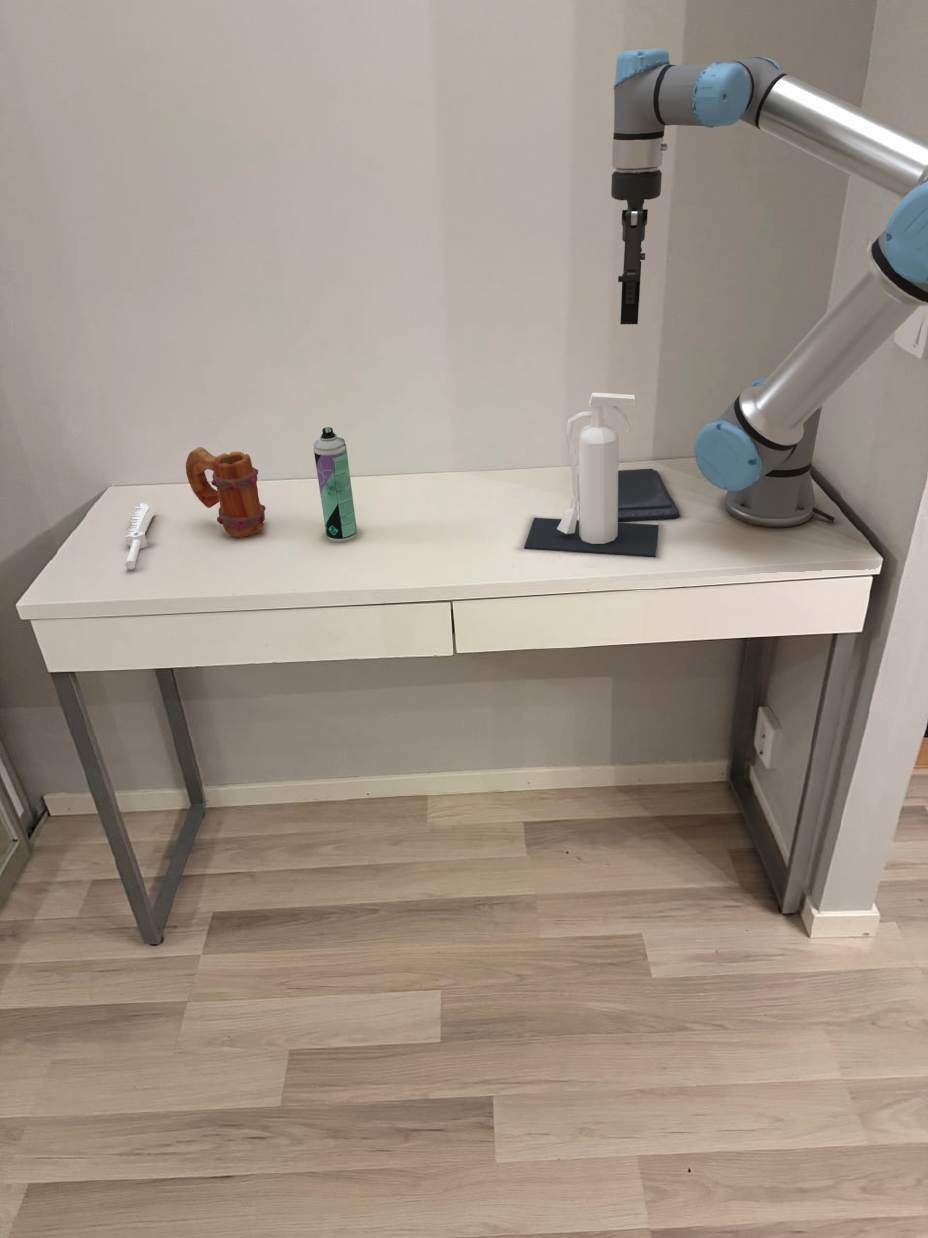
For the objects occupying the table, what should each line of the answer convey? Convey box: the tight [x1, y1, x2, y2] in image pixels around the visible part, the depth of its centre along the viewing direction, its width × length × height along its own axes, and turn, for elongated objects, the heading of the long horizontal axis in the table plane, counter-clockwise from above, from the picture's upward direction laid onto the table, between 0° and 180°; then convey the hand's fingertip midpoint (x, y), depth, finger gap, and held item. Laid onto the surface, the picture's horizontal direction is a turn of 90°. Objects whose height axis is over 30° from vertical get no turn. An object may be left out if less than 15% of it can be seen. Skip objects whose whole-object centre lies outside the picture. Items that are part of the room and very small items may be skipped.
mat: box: [523, 517, 660, 558], centre depth 156 cm, size 22×11×1 cm, turn 77°
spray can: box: [313, 426, 358, 543], centre depth 155 cm, size 6×6×20 cm
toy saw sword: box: [124, 503, 155, 570], centre depth 162 cm, size 3×4×22 cm
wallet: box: [618, 468, 681, 522], centre depth 168 cm, size 20×2×15 cm
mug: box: [185, 446, 266, 538], centre depth 161 cm, size 15×8×15 cm, turn 65°
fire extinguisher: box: [557, 392, 636, 544], centre depth 149 cm, size 7×12×25 cm, turn 84°
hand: (630, 312), depth 148 cm, fingers open, 13 cm apart
